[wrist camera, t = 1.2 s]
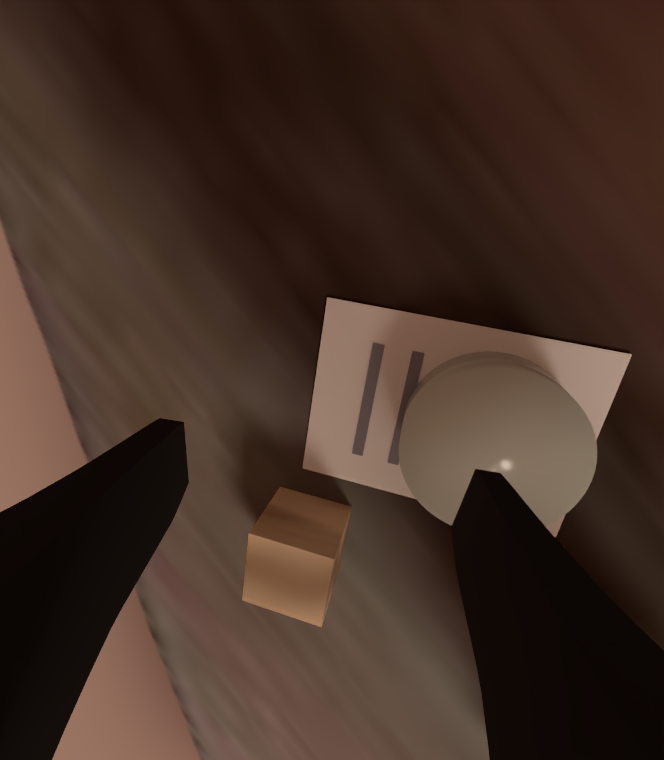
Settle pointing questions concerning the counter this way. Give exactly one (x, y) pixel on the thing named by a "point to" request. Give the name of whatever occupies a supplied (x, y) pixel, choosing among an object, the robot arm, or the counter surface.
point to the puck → (496, 435)
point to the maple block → (295, 555)
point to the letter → (403, 373)
